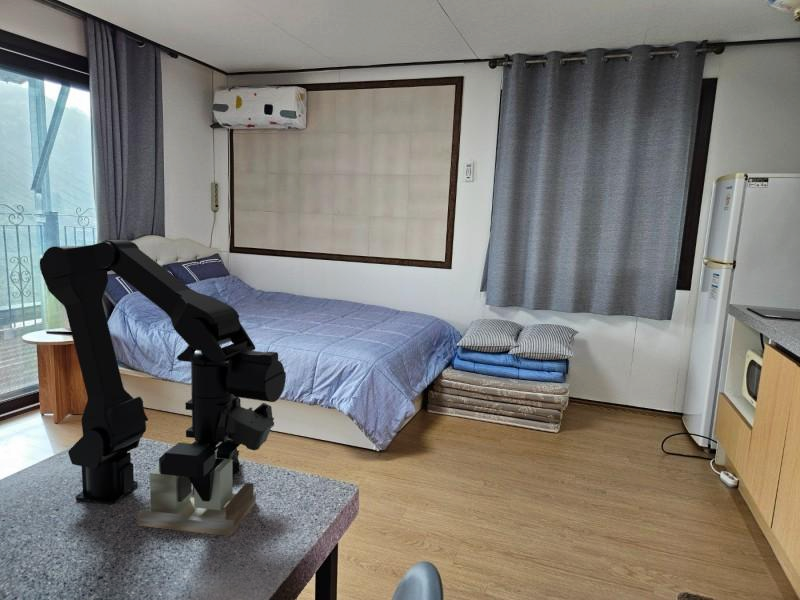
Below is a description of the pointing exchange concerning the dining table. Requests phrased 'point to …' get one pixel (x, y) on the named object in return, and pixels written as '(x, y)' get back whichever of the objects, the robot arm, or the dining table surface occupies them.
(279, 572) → the dining table surface
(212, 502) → the block
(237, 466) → the tape measure
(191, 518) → the open tray
